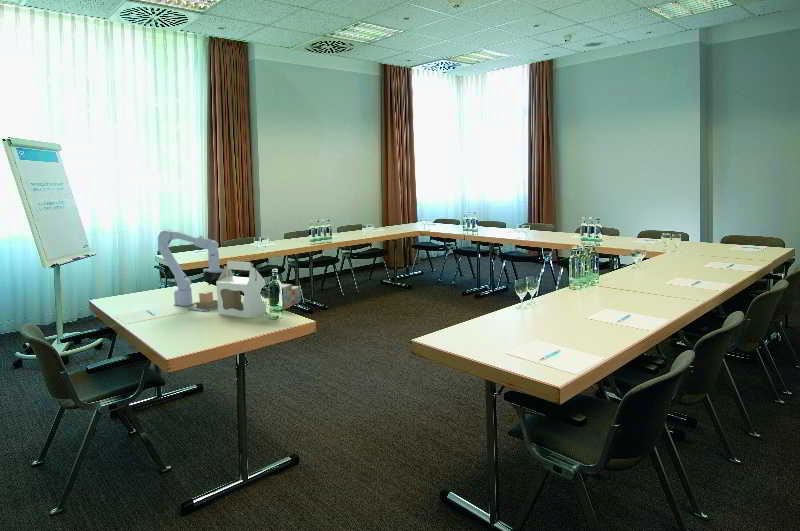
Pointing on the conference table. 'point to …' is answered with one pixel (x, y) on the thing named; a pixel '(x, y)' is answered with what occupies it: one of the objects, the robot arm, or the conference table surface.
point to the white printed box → (290, 295)
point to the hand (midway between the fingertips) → (215, 284)
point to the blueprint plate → (205, 306)
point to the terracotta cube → (206, 296)
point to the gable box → (231, 291)
